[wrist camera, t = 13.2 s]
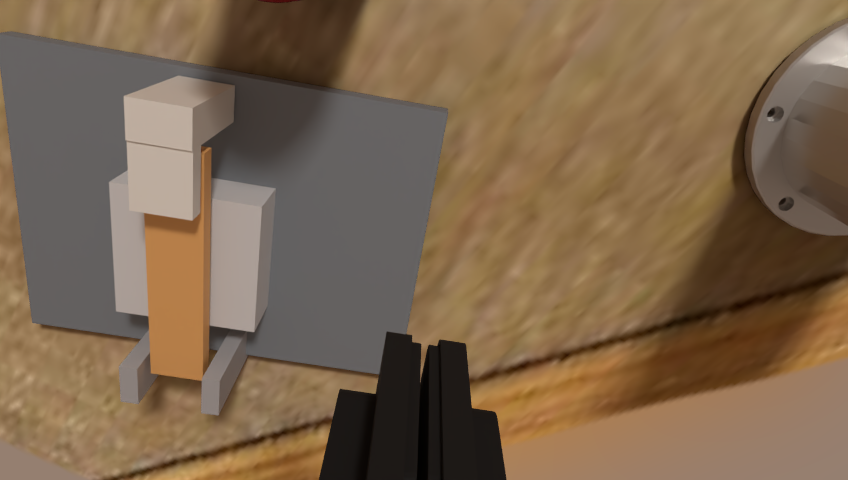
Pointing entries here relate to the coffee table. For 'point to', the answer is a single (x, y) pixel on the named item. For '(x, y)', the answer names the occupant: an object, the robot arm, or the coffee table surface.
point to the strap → (180, 287)
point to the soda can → (278, 1)
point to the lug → (172, 142)
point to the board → (267, 144)
